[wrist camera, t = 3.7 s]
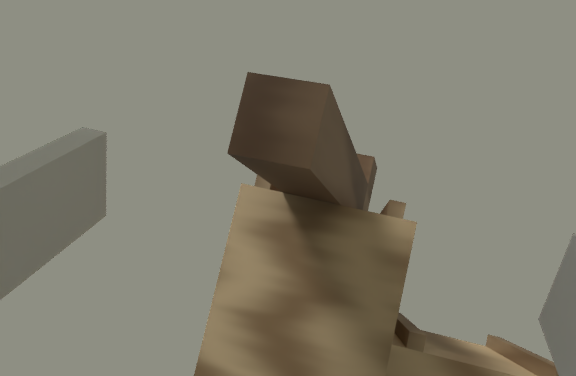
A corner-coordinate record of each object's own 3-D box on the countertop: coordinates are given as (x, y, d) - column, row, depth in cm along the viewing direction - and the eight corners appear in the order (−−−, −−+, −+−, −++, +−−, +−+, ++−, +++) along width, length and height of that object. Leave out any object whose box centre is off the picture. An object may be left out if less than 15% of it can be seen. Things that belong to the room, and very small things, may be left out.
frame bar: (227, 153, 19) (260, 19, 19) (325, 222, 42) (339, 161, 42) (310, 169, 18) (342, 30, 19) (363, 231, 41) (376, 168, 42)
